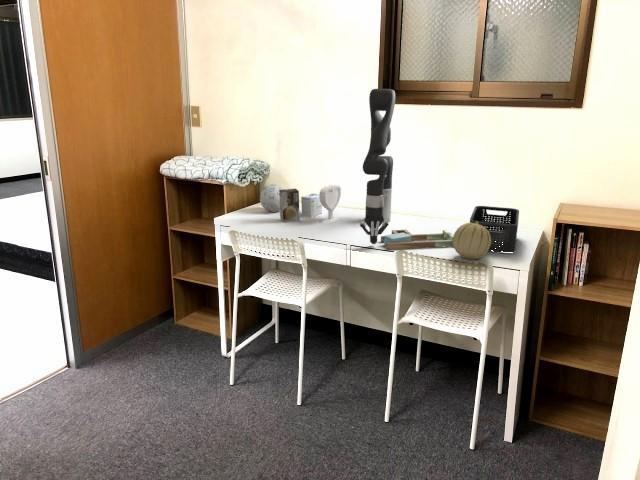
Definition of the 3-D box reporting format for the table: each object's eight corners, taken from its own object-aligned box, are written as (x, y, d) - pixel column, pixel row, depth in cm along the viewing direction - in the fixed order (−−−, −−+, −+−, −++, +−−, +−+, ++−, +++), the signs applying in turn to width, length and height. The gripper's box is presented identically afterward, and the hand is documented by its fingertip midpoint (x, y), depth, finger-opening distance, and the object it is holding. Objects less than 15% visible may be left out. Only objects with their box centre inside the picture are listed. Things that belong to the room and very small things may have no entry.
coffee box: (296, 218, 267) (296, 188, 262) (299, 221, 261) (299, 190, 257) (279, 219, 265) (278, 189, 260) (282, 222, 259) (282, 191, 254)
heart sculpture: (326, 224, 256) (326, 189, 250) (318, 222, 258) (318, 188, 253) (342, 217, 268) (342, 184, 263) (334, 216, 271) (334, 183, 265)
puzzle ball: (289, 213, 277) (289, 186, 272) (262, 215, 273) (261, 188, 269) (284, 207, 291) (283, 181, 286) (258, 209, 287) (257, 183, 282)
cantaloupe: (448, 261, 202) (451, 224, 197) (454, 250, 215) (457, 216, 210) (487, 266, 196) (490, 228, 192) (491, 254, 209) (494, 219, 205)
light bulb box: (312, 212, 280) (312, 192, 277) (322, 213, 277) (322, 194, 273) (301, 215, 272) (300, 196, 269) (311, 217, 268) (310, 197, 265)
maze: (376, 236, 235) (376, 227, 234) (438, 233, 239) (439, 224, 238) (388, 249, 216) (388, 240, 214) (456, 246, 220) (456, 237, 219)
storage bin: (514, 255, 209) (518, 224, 205) (466, 250, 215) (468, 219, 212) (516, 236, 234) (519, 208, 230) (473, 232, 241) (475, 205, 237)
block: (384, 245, 223) (384, 235, 221) (402, 242, 227) (403, 232, 226) (392, 248, 218) (392, 238, 216) (410, 245, 222) (411, 235, 221)
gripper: (387, 202, 220) (385, 240, 225) (357, 203, 218) (356, 241, 223) (392, 206, 213) (390, 245, 218) (361, 207, 211) (360, 247, 216)
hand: (373, 243), depth 220 cm, fingers closed
